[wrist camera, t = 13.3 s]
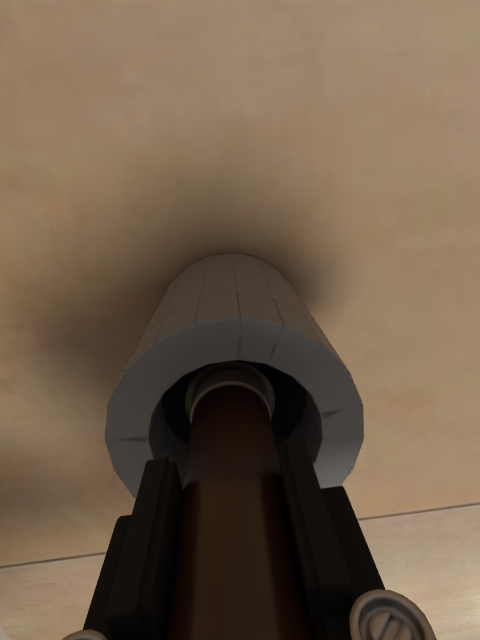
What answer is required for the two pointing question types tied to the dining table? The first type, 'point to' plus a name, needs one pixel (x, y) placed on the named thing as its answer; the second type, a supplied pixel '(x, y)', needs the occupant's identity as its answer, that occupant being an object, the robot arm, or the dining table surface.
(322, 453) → the cylindrical container
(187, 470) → the brush
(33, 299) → the dining table surface
